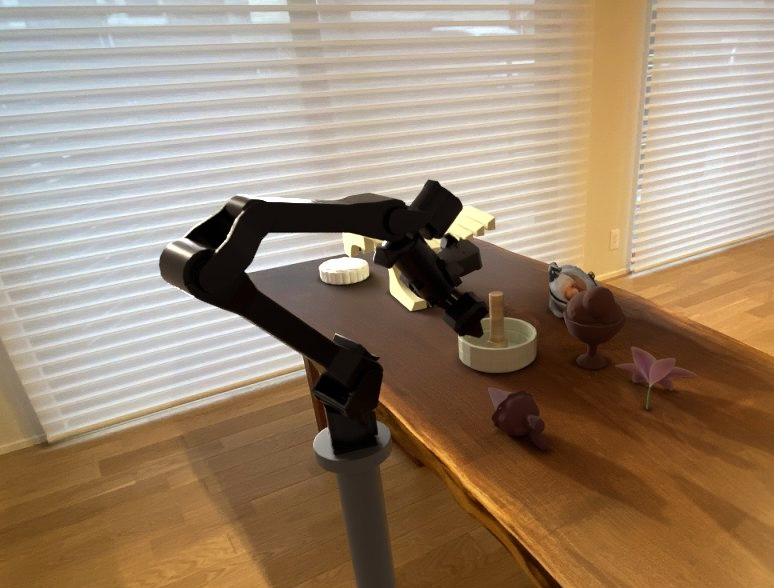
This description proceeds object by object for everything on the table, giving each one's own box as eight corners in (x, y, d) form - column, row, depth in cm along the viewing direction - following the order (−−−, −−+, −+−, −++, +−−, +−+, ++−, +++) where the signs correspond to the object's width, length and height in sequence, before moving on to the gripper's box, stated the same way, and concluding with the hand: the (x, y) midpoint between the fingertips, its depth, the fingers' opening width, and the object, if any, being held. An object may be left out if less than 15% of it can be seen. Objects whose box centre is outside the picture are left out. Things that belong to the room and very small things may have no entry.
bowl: (474, 381, 107) (473, 355, 105) (449, 348, 119) (448, 324, 117) (548, 365, 112) (549, 341, 110) (518, 335, 124) (517, 312, 121)
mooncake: (310, 278, 154) (308, 264, 153) (348, 266, 163) (346, 252, 161) (341, 288, 148) (339, 274, 146) (379, 275, 156) (377, 261, 154)
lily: (702, 412, 100) (706, 353, 100) (661, 411, 92) (666, 346, 92) (640, 407, 108) (644, 352, 108) (598, 405, 100) (602, 346, 100)
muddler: (506, 358, 113) (505, 297, 108) (485, 357, 114) (483, 296, 108) (509, 349, 117) (508, 290, 111) (489, 348, 117) (487, 289, 111)
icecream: (464, 382, 94) (518, 435, 84) (504, 360, 96) (562, 409, 86) (474, 414, 98) (526, 468, 88) (512, 392, 101) (567, 442, 90)
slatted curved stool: (466, 273, 157) (463, 202, 148) (496, 292, 145) (495, 216, 136) (351, 295, 144) (340, 219, 135) (373, 319, 132) (363, 236, 123)
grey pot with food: (623, 315, 132) (619, 270, 120) (578, 345, 130) (569, 302, 119) (581, 277, 140) (574, 232, 129) (538, 305, 138) (527, 262, 127)
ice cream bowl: (630, 357, 115) (637, 280, 108) (605, 382, 107) (611, 301, 99) (579, 344, 120) (582, 270, 112) (551, 367, 112) (553, 289, 104)
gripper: (492, 251, 85) (533, 315, 98) (427, 203, 97) (471, 266, 109) (434, 306, 85) (483, 363, 97) (375, 251, 96) (425, 309, 108)
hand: (466, 322), depth 103 cm, fingers open, 9 cm apart
